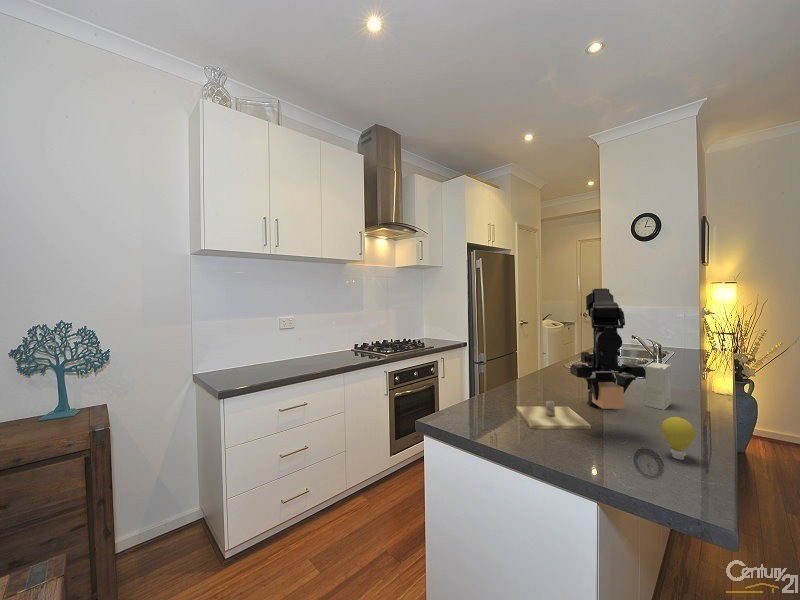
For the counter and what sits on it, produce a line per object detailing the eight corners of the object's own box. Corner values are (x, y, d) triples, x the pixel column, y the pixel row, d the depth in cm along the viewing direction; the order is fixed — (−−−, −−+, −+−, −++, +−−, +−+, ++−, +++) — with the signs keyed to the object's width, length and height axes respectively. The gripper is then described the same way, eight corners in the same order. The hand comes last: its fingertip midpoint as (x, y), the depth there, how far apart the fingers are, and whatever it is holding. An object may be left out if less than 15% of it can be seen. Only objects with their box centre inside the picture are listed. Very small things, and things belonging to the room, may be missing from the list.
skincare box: (652, 401, 130) (651, 361, 130) (672, 405, 125) (671, 364, 125) (645, 406, 125) (644, 365, 124) (665, 410, 120) (665, 367, 120)
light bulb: (654, 452, 90) (654, 413, 90) (678, 450, 91) (678, 412, 90) (677, 464, 83) (676, 423, 83) (703, 462, 84) (702, 421, 84)
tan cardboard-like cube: (612, 401, 104) (612, 382, 104) (623, 408, 98) (623, 387, 98) (592, 401, 105) (591, 382, 105) (601, 408, 99) (601, 387, 99)
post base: (568, 409, 124) (567, 394, 124) (591, 428, 106) (590, 411, 106) (516, 409, 126) (516, 394, 125) (530, 428, 108) (530, 411, 108)
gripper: (624, 342, 108) (625, 392, 109) (562, 343, 110) (563, 392, 110) (646, 348, 97) (647, 403, 98) (577, 348, 99) (578, 403, 99)
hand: (607, 399), depth 101 cm, fingers closed on tan cardboard-like cube, 6 cm apart
